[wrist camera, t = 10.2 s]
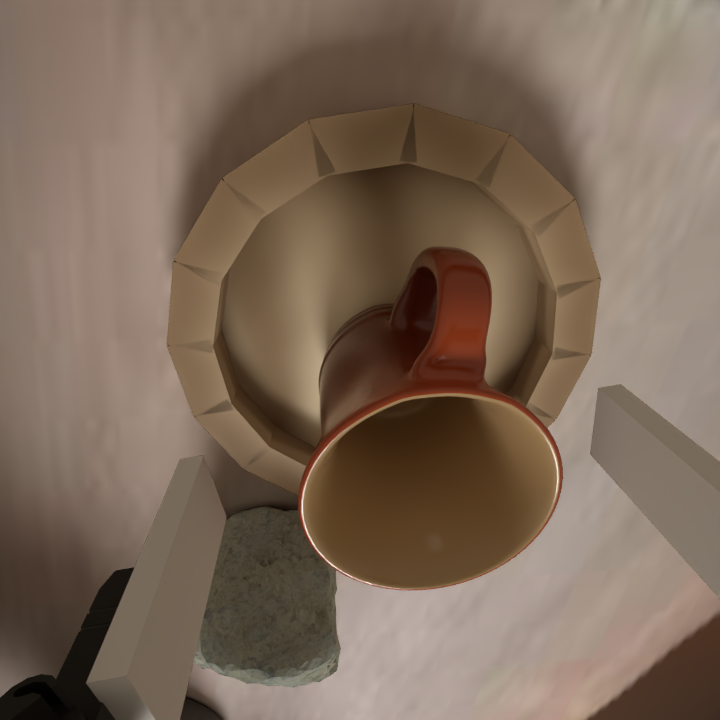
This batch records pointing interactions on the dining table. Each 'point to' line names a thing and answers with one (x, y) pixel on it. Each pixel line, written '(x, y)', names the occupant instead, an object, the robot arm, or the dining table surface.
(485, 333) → the mug
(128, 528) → the dining table surface
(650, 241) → the dining table surface
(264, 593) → the decorative stone
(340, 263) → the round tray
